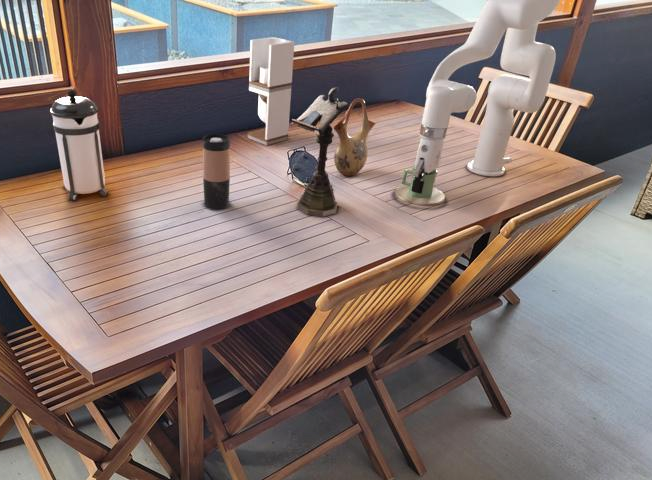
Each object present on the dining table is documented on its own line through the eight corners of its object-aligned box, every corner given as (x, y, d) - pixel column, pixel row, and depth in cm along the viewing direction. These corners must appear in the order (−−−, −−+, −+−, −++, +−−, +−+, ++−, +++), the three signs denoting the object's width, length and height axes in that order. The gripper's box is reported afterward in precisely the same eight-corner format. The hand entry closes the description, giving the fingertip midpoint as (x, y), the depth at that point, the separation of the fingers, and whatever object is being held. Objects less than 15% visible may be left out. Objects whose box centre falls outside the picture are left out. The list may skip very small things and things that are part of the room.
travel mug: (233, 201, 170) (234, 136, 159) (223, 211, 164) (224, 144, 153) (209, 197, 172) (208, 132, 161) (199, 207, 166) (197, 140, 155)
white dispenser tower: (268, 132, 226) (273, 36, 207) (287, 139, 220) (294, 41, 200) (247, 137, 220) (250, 39, 200) (266, 145, 213) (271, 44, 194)
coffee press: (123, 186, 177) (112, 86, 160) (90, 205, 165) (75, 99, 148) (78, 176, 182) (63, 78, 166) (43, 193, 170) (23, 90, 154)
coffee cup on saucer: (451, 194, 179) (457, 169, 174) (434, 210, 168) (440, 183, 164) (406, 182, 186) (411, 157, 181) (387, 196, 175) (392, 171, 171)
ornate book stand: (305, 225, 159) (317, 97, 139) (277, 208, 168) (284, 85, 148) (348, 212, 167) (365, 89, 147) (320, 196, 176) (332, 78, 156)
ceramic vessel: (337, 182, 186) (347, 104, 172) (321, 173, 192) (329, 97, 178) (375, 174, 193) (388, 99, 179) (358, 165, 199) (369, 92, 185)
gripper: (435, 141, 158) (422, 200, 168) (455, 127, 170) (442, 182, 180) (409, 135, 161) (398, 194, 171) (431, 122, 174) (420, 177, 183)
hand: (421, 187), depth 176 cm, fingers closed on coffee cup on saucer, 7 cm apart
